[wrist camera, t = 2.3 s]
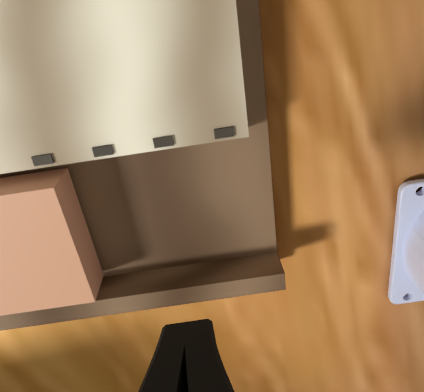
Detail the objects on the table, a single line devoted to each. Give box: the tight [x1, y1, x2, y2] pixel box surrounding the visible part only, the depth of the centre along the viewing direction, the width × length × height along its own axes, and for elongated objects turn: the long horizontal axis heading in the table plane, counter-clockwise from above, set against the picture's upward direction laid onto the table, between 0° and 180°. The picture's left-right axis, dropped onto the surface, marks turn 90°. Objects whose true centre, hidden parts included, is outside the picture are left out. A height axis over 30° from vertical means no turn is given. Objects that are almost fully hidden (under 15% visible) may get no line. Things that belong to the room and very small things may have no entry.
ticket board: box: [0, 0, 286, 331], centre depth 17 cm, size 22×15×3 cm
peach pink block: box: [0, 168, 103, 316], centre depth 18 cm, size 6×6×2 cm
